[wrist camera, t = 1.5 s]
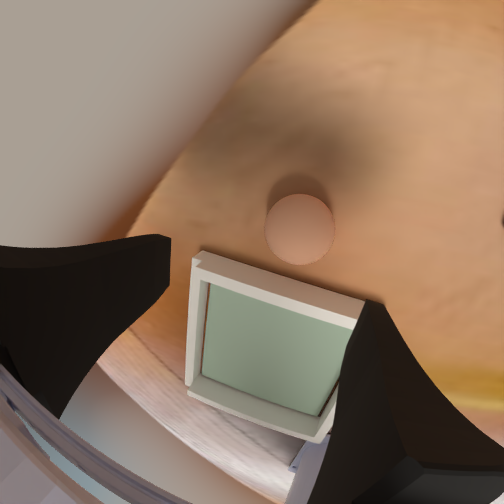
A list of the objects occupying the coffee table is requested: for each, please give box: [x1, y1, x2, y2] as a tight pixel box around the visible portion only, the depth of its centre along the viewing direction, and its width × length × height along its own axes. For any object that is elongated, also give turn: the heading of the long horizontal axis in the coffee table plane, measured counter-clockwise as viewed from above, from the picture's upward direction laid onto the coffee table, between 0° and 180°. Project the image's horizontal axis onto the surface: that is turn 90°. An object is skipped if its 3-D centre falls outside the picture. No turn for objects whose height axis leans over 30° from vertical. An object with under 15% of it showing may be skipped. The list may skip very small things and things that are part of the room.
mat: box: [202, 283, 353, 416], centre depth 23 cm, size 11×11×1 cm
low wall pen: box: [185, 250, 365, 444], centre depth 22 cm, size 14×14×2 cm
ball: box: [264, 194, 335, 265], centre depth 17 cm, size 4×4×4 cm
